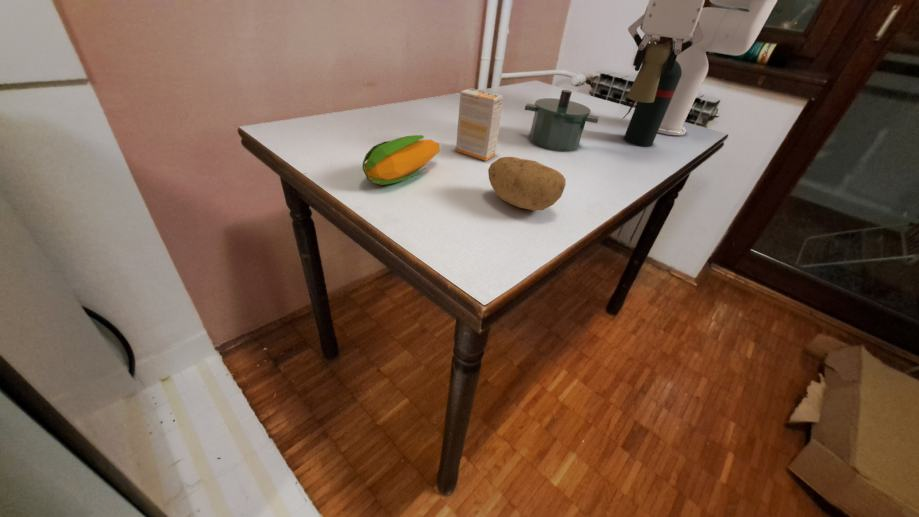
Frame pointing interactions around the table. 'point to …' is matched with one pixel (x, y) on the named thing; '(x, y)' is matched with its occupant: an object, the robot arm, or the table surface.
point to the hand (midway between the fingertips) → (650, 71)
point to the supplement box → (478, 123)
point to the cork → (649, 74)
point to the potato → (526, 183)
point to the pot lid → (563, 106)
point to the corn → (398, 159)
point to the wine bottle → (652, 109)
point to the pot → (557, 129)
